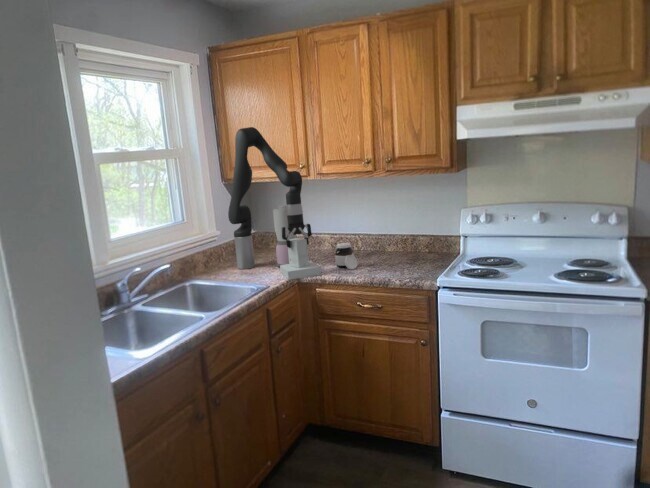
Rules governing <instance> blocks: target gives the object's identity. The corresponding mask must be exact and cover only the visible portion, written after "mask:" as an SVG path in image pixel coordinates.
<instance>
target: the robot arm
mask: <svg viewBox="0 0 650 488" xmlns="http://www.w3.org/2000/svg"><path fill="white" fill-rule="evenodd" d="M234 141H235V143H234V144H235V145H234V146H235V147H234V148H235V150H234V151H235V154H234V156H235V157H234V169H233V177H232V191H231V196H230V197H231V198H230V202H229V206H228V221H229V222H230V224H232V225H239V224H240V226H239V227H238V228H237V229H236V230H234V232H233V239H234V247H235V256H236V263H237V269H238V270H247V269H253V268H255V267H256V262H255V261H256V260H255V255H254V253H255V252H254V245H253V237H252V230H253V227H252V213H251V209H250V208H249V206H248V205H246V204H243V205H241V202H242V200H243V198H244V197H245V196H246V194H247V192H248V191H249V189H250V188H251V185H252V180H253V179H252V178H253V171H252V167H251V165H250V162H249V160H248V151H249V148H252V147H255V148H256V149H257V150H259V151H260V153H261V154H262V157H263V160H264V162H265V164H266V165H267V166H268V168H269V169H270V170H271V171H272V172H273V173H274V174H275V175H276V177H277V178H278V180H279V182H280V183H281V185H283V186H284V187H288V188H289V190H288V191H287V192H286V194H285V200H286V204H285V205H287V220H288V227H282V239H284V240H286V243H287V247H288V248H291V246H290V240H289V239H290V238H291V237H292V235H296V236H297V235H302V236H303V237H304V239H307V247H308V245H309V243H310V242H309V238H310V237H312V235H313V234H312V227H311V224H310V223H306V224H305V223H304V214H303V213H304V211H303V205H302V197H301V196H302V195H301V193H302V187H303V186H302V185H303V177H302V174H301V173H300V172H299V171H297V170H290V171H289V170H288V165H287V163H286V162H285V161H284V160H283V159H282V157H280V156H279V155H278V154H277V153H276V152H275V151H274V149H273V148H272V147H271V146H270V144H269V143H268V141H267V140H266V139H265V137H264V136H263V135H262V134H261V132H260V131H259V130H258V129H257V128H256V127H252V126H250V127H249V126H248V127H243V128H239V129H238V130H237V131H236V133H235V139H234ZM287 229H288V230H289V233H288V235H287V237H286V234H285V232H286V231H287ZM305 229H306V231H307V233H306V231H305Z"/></svg>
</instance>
